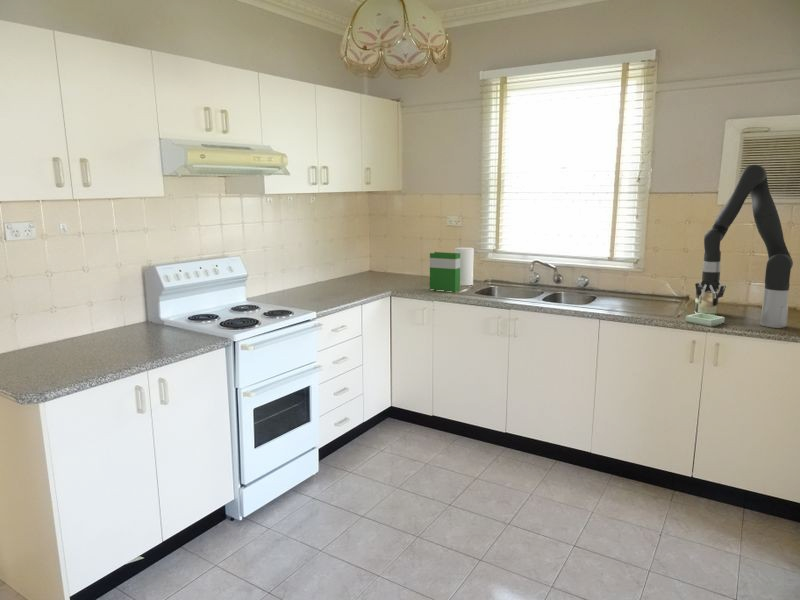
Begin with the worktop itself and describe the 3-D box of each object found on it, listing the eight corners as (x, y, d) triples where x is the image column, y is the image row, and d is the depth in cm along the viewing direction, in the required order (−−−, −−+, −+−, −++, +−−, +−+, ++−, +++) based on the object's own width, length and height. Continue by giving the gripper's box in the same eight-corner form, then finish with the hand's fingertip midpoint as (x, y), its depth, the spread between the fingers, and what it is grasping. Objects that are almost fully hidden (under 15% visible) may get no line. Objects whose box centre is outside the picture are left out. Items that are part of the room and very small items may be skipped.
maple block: (716, 306, 272) (717, 292, 271) (711, 307, 269) (712, 293, 268) (706, 305, 276) (707, 291, 275) (700, 306, 273) (701, 292, 272)
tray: (724, 323, 262) (724, 317, 262) (710, 326, 256) (711, 320, 255) (698, 318, 272) (699, 312, 272) (685, 321, 266) (685, 315, 265)
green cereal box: (429, 290, 355) (429, 253, 350) (434, 288, 361) (434, 252, 356) (455, 292, 346) (455, 254, 342) (459, 291, 353) (460, 253, 348)
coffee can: (689, 312, 288) (691, 285, 285) (704, 310, 291) (707, 284, 288) (705, 316, 278) (708, 288, 275) (721, 314, 281) (724, 287, 278)
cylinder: (472, 286, 368) (473, 249, 363) (453, 286, 370) (454, 248, 365) (473, 283, 380) (474, 247, 375) (455, 283, 382) (455, 247, 377)
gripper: (730, 271, 266) (728, 306, 269) (700, 268, 278) (698, 302, 280) (722, 272, 262) (719, 308, 265) (692, 270, 273) (690, 304, 276)
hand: (708, 304), depth 273 cm, fingers closed on maple block, 5 cm apart
